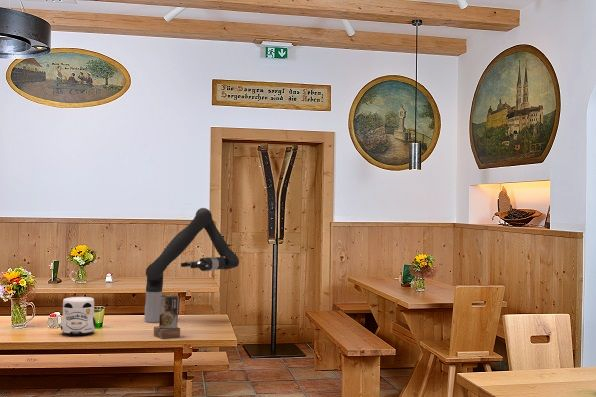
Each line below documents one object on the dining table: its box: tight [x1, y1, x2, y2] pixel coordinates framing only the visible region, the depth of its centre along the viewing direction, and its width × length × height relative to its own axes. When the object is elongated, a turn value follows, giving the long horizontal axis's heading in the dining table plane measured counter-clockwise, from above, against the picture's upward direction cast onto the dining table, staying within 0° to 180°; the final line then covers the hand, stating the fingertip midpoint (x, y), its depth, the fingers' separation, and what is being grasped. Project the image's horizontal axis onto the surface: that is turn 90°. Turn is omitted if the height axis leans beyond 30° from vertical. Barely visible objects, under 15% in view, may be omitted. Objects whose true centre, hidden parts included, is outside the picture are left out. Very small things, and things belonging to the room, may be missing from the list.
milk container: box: [60, 296, 97, 336], centre depth 368 cm, size 17×17×18 cm
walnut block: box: [153, 325, 181, 340], centre depth 366 cm, size 10×10×5 cm
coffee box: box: [158, 294, 180, 328], centre depth 366 cm, size 9×6×16 cm
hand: (186, 265), depth 391 cm, fingers open, 8 cm apart
